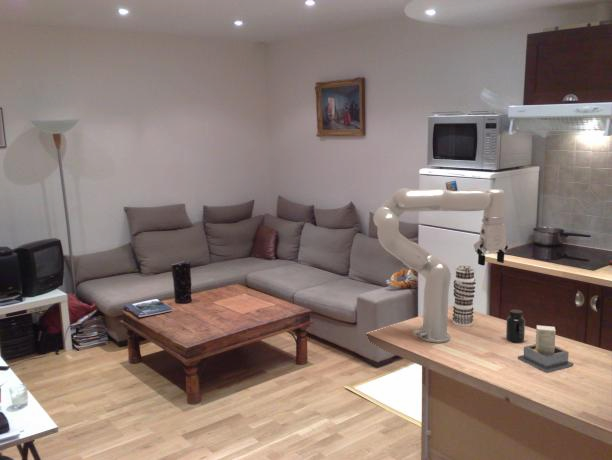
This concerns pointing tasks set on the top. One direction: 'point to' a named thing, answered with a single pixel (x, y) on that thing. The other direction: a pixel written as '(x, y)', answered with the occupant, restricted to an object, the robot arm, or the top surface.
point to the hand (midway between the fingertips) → (490, 263)
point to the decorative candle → (463, 296)
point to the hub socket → (545, 359)
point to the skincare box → (545, 339)
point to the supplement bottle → (515, 327)
